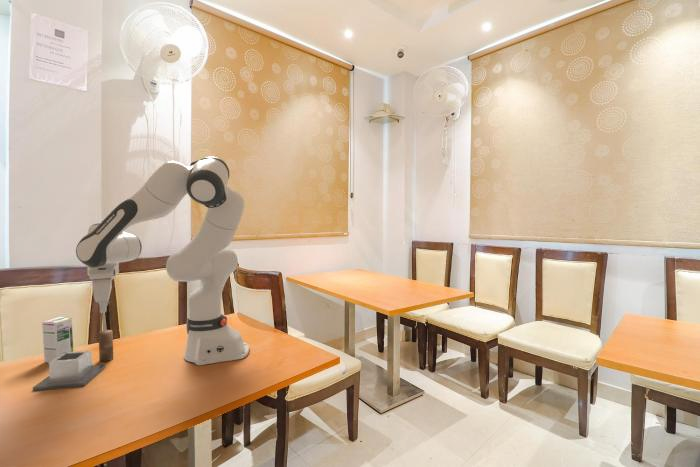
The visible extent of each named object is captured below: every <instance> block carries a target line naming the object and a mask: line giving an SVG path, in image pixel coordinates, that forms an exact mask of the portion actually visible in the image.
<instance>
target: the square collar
mask: <svg viewBox="0 0 700 467" xmlns="http://www.w3.org/2000/svg"><path fill="white" fill-rule="evenodd" d="M92 354H93V353H92V350H80V351H73V352H64V353H63V354H61V355H59V356H58V357H56V358H55V359H53V360H52V361H50V362H49V363H48V368H49V369H48V371H49V373H48V374H49V375H48V376H46V377H45V378H44V379H42V380H41V381H39V382H38V383H37V384H35V385H34V386H33V387H32V392H33V391H34V392H36V391H45V390H58V389H67V388H69V389H70V388H78V387H79V388H80V387H86V386H87V384H89V383H90V382H91V381H92V380H94V379H95V377H97V376H98V375H99V374H100V373H101V372H102V371H104V369H105V368H106V363H104V364H93V359H92V358H93V357H92V356H93V355H92Z"/></svg>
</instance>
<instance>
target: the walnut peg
mask: <svg viewBox="0 0 700 467" xmlns="http://www.w3.org/2000/svg"><path fill="white" fill-rule="evenodd" d="M113 332H114V330H112V329H106V330H101V331H98V357H99V358H98V359H99V363H108V362H111V361H112V360H114V337H113Z"/></svg>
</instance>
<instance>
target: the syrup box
mask: <svg viewBox="0 0 700 467" xmlns="http://www.w3.org/2000/svg"><path fill="white" fill-rule="evenodd" d="M72 320H73V319H72V317H69V316H58V317H56V318H51V319H49V320H45V321H42V323H41V325H42V341H43V343H42V344H43V356H44V357H43V360H44V363H46V362H47V363H48V364H49V362H50V361H52V360H53V359H55V358H56V357H58V356H59V355H61V354H63V353H64V352H74V343H73V342H74V339H73V338H74V336H73V321H72Z"/></svg>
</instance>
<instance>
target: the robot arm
mask: <svg viewBox="0 0 700 467" xmlns="http://www.w3.org/2000/svg"><path fill="white" fill-rule="evenodd" d="M229 180H230V170H229V166H228V165H227V163H226V162H225V161H224V160H223V159H221V158H219V157H217V156H207V157H203V158H201V159H198V160H195V161H192V162H191V163H190V165H189V166H187V165H185V164H183V163H181V162H178V161H175V160H170V161H166V162H164V163H163V164H161V165H160V166H159V167H158V168H157V169H156V170H155V171H154V172H153V173H152V174H151V175H150V176H149V178H148V179H147V181H146V182H145V183H144V184H143V185H142V187H140V189H138V191H136V192H135V193H134V194H133V195H131V196H130V197H129V198H127V199H125V200H124V201H122V202H121V203H119V204H118V205H117V206H116V207H115V208H114V209H113V210H112V211H111V212H110V213H109V214H107V216H106V217H105V218H104V219H103V220H102V221H101V222H100V223H94V224H91V225H90V226H89V228H88V230H87V234H86V235H84V236H82V238H81V239H80V240H79V241H78V243H77V245H76V247H75V254H76V257H77V259H78V260H79V262H81V263H82V264H84V265H85V266H87V269H86V270H87V276H88V277H89V280H91V283H92V284H91V286H92V291H93V299H94V301H95V303H98V306H99V313H100V314H104V313H105V314H106V313H107V311H108V310H107V306H109V302H110V301H109V300H110V297H111V296H110V295H111V291H112V288H113V286H112V284H113V283H112V282H113V280H114V279H115V277H116V276H117V275H118V274H119V273H120V268H119V267H120V265H119V264H121V263H126V262H131V261H133V260H134V261H135V260H137V259H138V258H139V256H140V255H141V254H142V247H143V246H142V242H141V240H140V238H139V237H138V236H137V235H136V234H133V233H130V232H127V231H126V230H127V229H128V228H130V227H131V226H134V225H136V224H139V223H142V222H147V221H152V220H157V219H161V218H164V217H167V216H168V215H170V214H171V213H172V212H174V211H175V209H176V208H177V206H178V205H179V204H180V202H181V201H182V200H183V199H184V197H185V196H186V195H187V194H188V196H189V198H190V199H192V200H193V201H195V202H196V203H198V204H200V205H203V206H204V207H206V208H207V210H206V213H205V215H204V217H203V221H202V223H201V225H200V227H199V229H198V232H197V233H196V234H195V236H194V237H193V238H192V239H191V240H190V241H188V243H186V245H184V247H182V248H181V249H179V250H178V251H175V252H173V253H172V254H170V256H168V258H167V261H166V264H165V270H166V272H167V275H168V277H169V279H171V280H172V281H173V282H188V283H189V282H195V281H200V283H199V285H198V286H197V288H196V289H194V290H193V291H191V292H190V294H189V295H188V298H187V316H188V317H187V318H186V333H187V342H186V348H185V352H184V355H183V359H184V360H185V361H187V362H191V363H193V364H195V365H196V366H204V365H210V364H215V363H217V364H218V363H223V362H224V363H225V362H230V361H238V360H241V359H242V360H243V359H244V358H245V357H247V356H248V354H249V352H250V345H249V343H247V342H244V341H243V340H244V339H243V336H242V334H241V331H239V330H237V329H235V328H233V327H232V326H230V325H229V324H228V317H227V314H225V315H224V314H222V297H223V296H222V294H223V291H224V288H225V285H226V283H227V280H228V279H229V277H230V276H231V275H232V274H233V273H234V272H235V271H236V270H237V267H238V264H239V261H238V255H237V254H236V252H235V251H234V250H233V249H231V248H228V247H229V246H230V244H231V243H232V241H233V238H234V235H236V231H237V229H238V227H239V225H240V222H241V220H242V216H243V212H244V208H245V200H244V198H243V196H242V195H241V194H240V193H238V192H237V191H235V190H232V189H231V188H230V187H229V185H228V183H229Z"/></svg>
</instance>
